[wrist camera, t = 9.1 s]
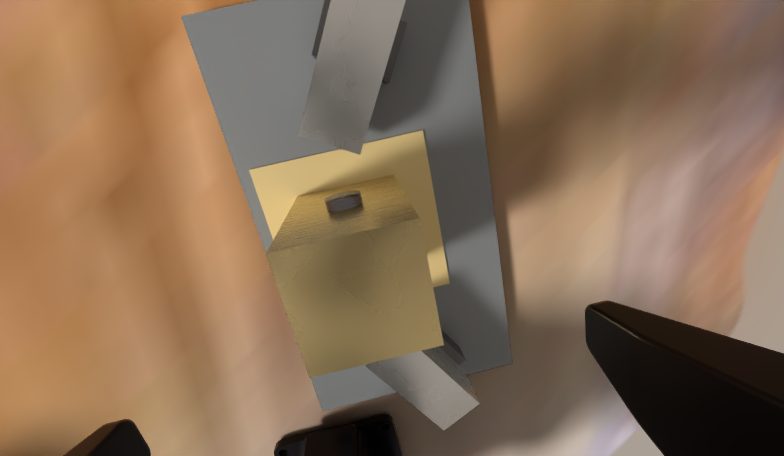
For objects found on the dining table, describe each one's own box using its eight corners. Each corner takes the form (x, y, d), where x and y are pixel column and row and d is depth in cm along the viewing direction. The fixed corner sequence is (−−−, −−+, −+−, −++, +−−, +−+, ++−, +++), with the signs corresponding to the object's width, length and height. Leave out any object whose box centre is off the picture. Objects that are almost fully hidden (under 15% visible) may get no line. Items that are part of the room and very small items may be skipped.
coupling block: (412, 267, 17) (445, 353, 11) (325, 288, 16) (312, 386, 11) (392, 167, 15) (417, 207, 9) (294, 189, 15) (261, 243, 9)
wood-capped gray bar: (464, 372, 19) (484, 420, 16) (382, 393, 19) (388, 445, 16) (394, -24, 13) (406, -59, 10) (272, 2, 13) (250, -26, 10)
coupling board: (506, 353, 20) (513, 364, 19) (323, 399, 19) (322, 412, 19) (457, -36, 14) (464, -45, 13) (190, 21, 13) (179, 15, 13)
